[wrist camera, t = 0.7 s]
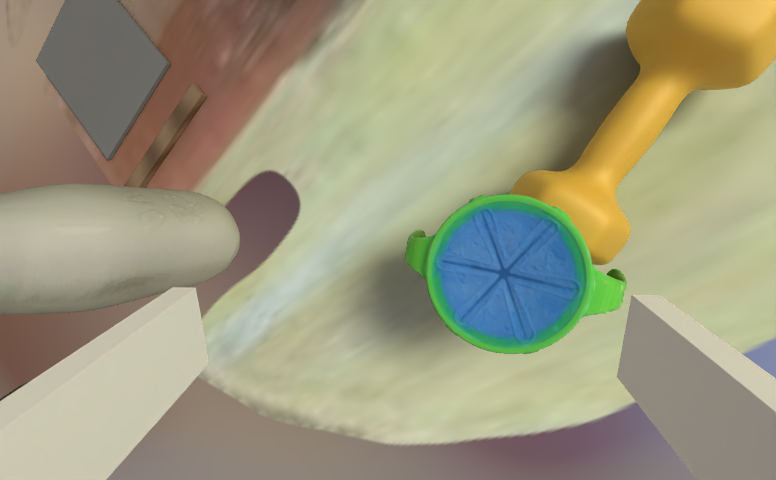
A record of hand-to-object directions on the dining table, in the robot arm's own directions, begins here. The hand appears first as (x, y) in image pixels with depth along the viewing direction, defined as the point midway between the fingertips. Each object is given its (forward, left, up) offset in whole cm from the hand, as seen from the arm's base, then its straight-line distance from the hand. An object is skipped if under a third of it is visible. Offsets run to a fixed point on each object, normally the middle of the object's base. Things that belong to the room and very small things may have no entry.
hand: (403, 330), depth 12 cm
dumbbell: (-13, 0, -25) cm, 29 cm away
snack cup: (-1, +2, -25) cm, 25 cm away
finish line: (+22, -36, -25) cm, 49 cm away
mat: (+21, -52, -25) cm, 61 cm away
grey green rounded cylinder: (+22, -22, -25) cm, 40 cm away
